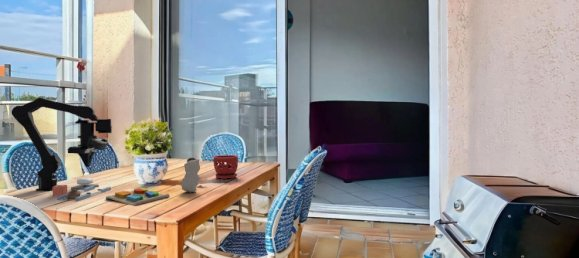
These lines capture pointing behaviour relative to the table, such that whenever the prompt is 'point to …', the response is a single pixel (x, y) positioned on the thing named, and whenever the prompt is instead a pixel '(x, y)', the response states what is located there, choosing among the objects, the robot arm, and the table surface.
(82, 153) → the robot arm
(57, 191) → the die
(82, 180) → the dome
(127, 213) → the table surface
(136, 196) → the shape sorting puzzle
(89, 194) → the lane
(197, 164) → the figurine
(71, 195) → the pawn
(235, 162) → the plant pot
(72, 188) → the dome base
